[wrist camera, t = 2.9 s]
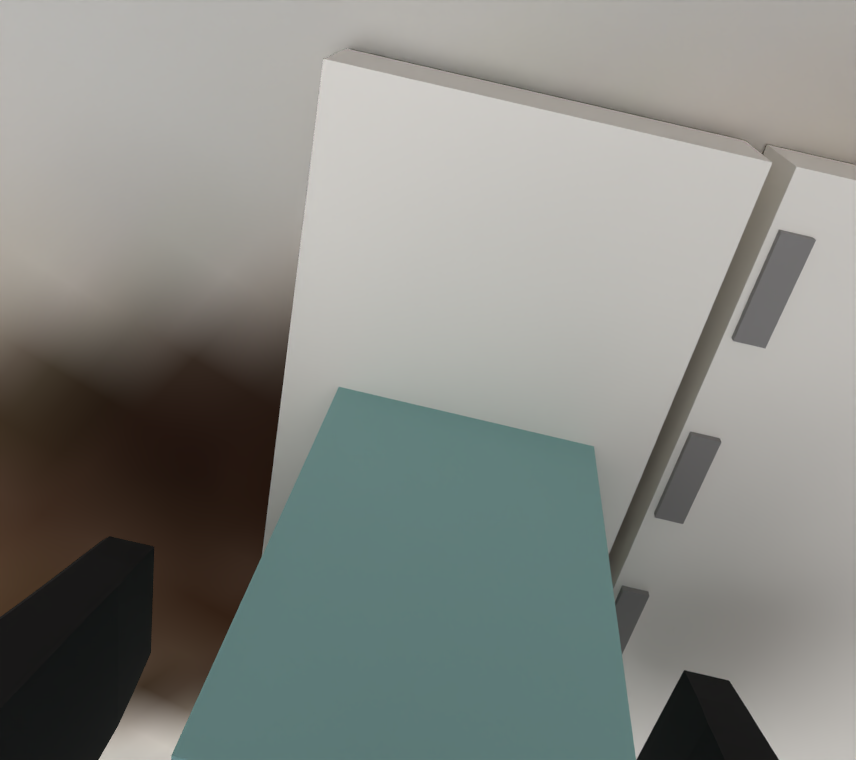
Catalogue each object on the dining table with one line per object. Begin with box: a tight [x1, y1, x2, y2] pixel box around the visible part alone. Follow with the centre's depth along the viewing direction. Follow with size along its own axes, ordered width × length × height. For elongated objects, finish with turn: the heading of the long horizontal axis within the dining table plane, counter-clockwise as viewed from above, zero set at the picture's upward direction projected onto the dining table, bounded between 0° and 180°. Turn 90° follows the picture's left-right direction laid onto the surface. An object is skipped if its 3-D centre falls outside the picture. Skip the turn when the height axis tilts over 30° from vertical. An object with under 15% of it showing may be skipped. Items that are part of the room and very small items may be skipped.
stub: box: [171, 48, 772, 760], centre depth 10 cm, size 5×14×7 cm, turn 169°
